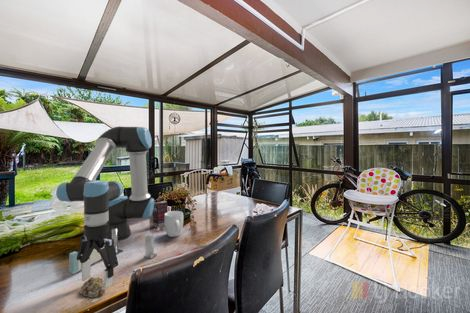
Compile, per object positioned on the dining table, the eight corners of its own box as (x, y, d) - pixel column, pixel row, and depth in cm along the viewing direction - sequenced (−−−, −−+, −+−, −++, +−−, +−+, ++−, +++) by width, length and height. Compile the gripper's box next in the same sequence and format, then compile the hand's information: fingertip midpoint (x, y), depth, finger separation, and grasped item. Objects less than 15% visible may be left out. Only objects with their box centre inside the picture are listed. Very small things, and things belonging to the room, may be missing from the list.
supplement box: (163, 222, 146) (163, 200, 145) (167, 224, 143) (167, 201, 143) (152, 226, 139) (152, 203, 138) (157, 228, 136) (157, 204, 135)
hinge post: (106, 254, 101) (106, 230, 101) (115, 249, 106) (115, 226, 105) (114, 256, 99) (113, 231, 99) (122, 251, 104) (122, 228, 104)
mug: (188, 238, 121) (188, 216, 120) (169, 242, 115) (169, 219, 114) (179, 229, 133) (179, 209, 133) (162, 233, 127) (162, 212, 127)
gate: (108, 252, 101) (108, 236, 100) (112, 253, 100) (111, 237, 100) (69, 272, 84) (69, 253, 84) (73, 274, 83) (73, 254, 83)
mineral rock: (73, 284, 75) (98, 269, 81) (77, 293, 76) (101, 278, 82) (85, 299, 68) (110, 281, 74) (89, 309, 70) (113, 290, 76)
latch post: (144, 257, 99) (144, 236, 98) (149, 253, 102) (149, 233, 102) (151, 259, 97) (151, 238, 97) (156, 255, 101) (156, 235, 100)
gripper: (64, 222, 76) (64, 281, 76) (111, 231, 68) (111, 296, 69) (84, 216, 83) (85, 270, 84) (129, 223, 75) (129, 282, 76)
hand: (97, 282), depth 76 cm, fingers open, 11 cm apart
